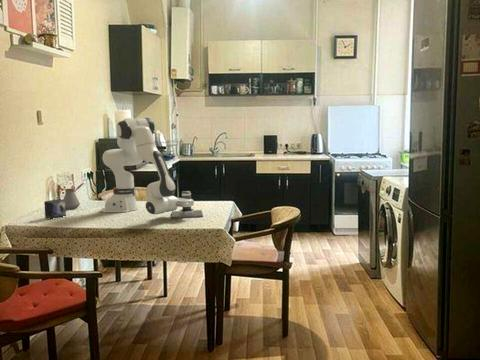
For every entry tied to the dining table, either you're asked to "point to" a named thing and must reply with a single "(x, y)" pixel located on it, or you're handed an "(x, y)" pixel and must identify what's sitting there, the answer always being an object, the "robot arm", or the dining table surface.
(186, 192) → the grey peg
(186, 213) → the mount plate
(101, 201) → the dining table surface
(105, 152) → the robot arm
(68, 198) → the coffee pot
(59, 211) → the small box
